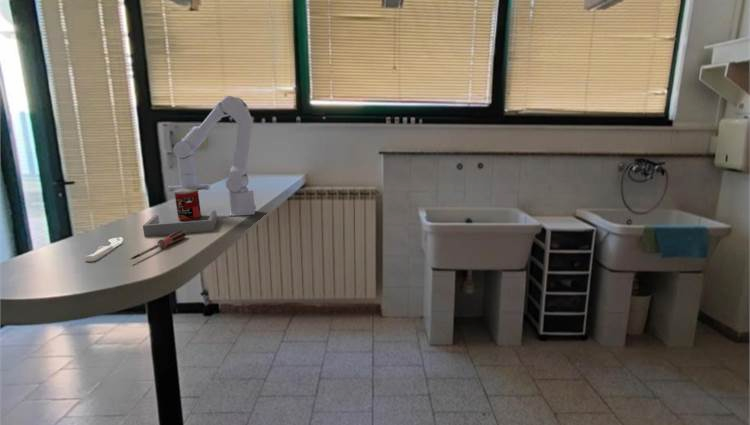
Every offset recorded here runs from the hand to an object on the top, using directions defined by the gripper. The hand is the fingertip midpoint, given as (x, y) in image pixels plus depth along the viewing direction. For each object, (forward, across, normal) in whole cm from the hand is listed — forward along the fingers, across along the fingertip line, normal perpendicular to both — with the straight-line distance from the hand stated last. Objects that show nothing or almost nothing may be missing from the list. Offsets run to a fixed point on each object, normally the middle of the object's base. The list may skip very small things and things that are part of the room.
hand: (191, 208), depth 158 cm
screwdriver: (+3, +2, +44) cm, 44 cm away
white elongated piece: (+3, +18, +35) cm, 40 cm away
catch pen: (+2, 0, +19) cm, 20 cm away
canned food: (+2, 0, +6) cm, 6 cm away
